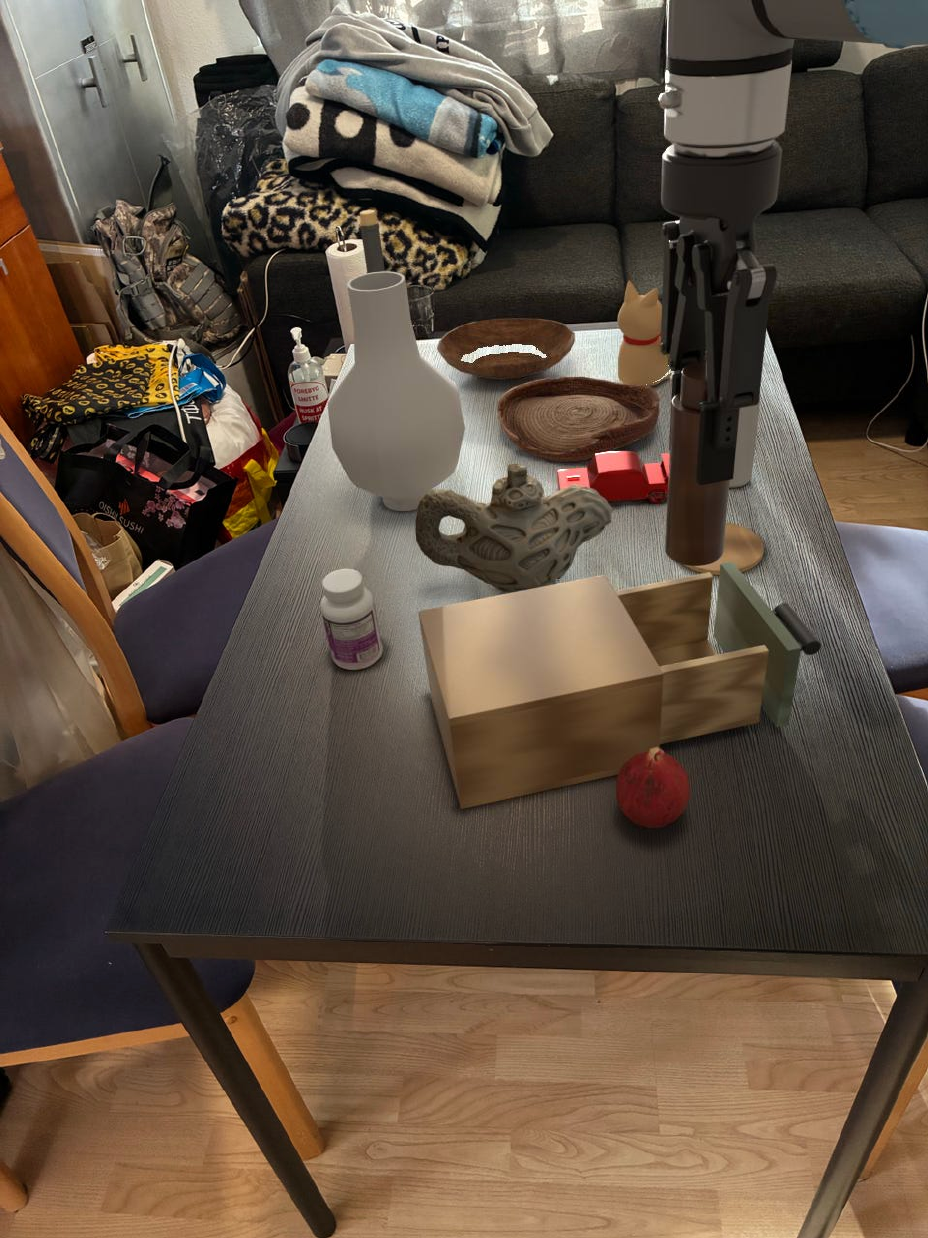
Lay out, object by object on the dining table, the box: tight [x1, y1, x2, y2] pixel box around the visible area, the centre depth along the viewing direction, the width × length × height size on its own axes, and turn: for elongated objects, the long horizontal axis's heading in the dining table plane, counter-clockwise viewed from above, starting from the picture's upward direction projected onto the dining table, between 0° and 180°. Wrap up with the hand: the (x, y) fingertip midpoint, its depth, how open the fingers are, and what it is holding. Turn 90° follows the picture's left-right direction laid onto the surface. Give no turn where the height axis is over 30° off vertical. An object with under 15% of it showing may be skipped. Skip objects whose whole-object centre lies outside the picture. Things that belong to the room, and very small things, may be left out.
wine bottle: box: [359, 209, 413, 325], centre depth 130 cm, size 8×8×30 cm
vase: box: [327, 270, 466, 512], centre depth 113 cm, size 17×16×28 cm
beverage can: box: [729, 395, 761, 489], centre depth 115 cm, size 5×5×12 cm
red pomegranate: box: [615, 747, 691, 829], centre depth 74 cm, size 6×6×8 cm
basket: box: [496, 376, 661, 463], centre depth 131 cm, size 22×20×5 cm
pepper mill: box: [664, 362, 730, 566], centre depth 75 cm, size 5×5×16 cm
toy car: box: [556, 450, 670, 504], centre depth 116 cm, size 14×6×5 cm, turn 89°
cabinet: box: [417, 574, 664, 810], centre depth 83 cm, size 18×15×11 cm
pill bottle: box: [320, 568, 384, 671], centre depth 94 cm, size 5×5×10 cm
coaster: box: [683, 522, 765, 576], centre depth 106 cm, size 10×10×1 cm
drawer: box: [615, 561, 822, 745], centre depth 85 cm, size 21×13×9 cm, turn 102°
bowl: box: [436, 317, 576, 380], centre depth 150 cm, size 20×22×5 cm
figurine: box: [617, 279, 673, 387], centre depth 139 cm, size 9×10×15 cm
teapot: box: [414, 463, 613, 593], centre depth 100 cm, size 21×12×15 cm, turn 99°
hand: (700, 463), depth 75 cm, fingers closed on pepper mill, 5 cm apart
